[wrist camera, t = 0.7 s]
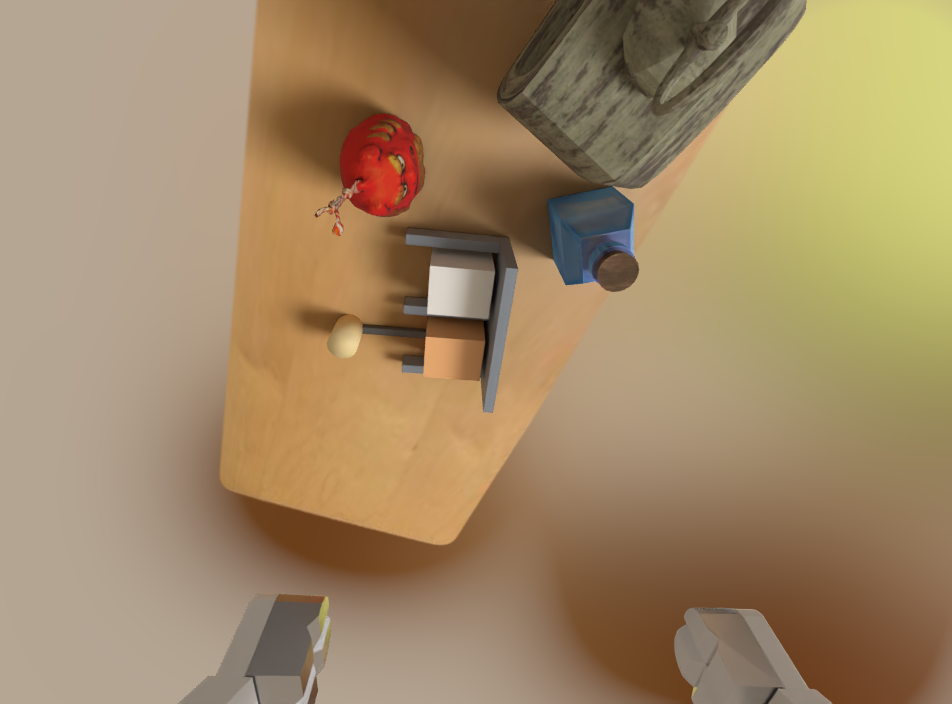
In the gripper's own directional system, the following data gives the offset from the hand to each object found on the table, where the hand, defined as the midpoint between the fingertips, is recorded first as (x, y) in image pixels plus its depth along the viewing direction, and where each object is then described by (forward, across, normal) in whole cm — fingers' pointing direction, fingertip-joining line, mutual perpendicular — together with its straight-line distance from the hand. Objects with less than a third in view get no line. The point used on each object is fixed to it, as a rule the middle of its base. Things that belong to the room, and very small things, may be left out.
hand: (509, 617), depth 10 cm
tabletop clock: (+37, -8, -16) cm, 41 cm away
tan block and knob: (+40, +6, +11) cm, 42 cm away
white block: (+39, +1, +4) cm, 39 cm away
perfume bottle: (+39, -10, -2) cm, 40 cm away
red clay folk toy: (+38, +8, -7) cm, 39 cm away
